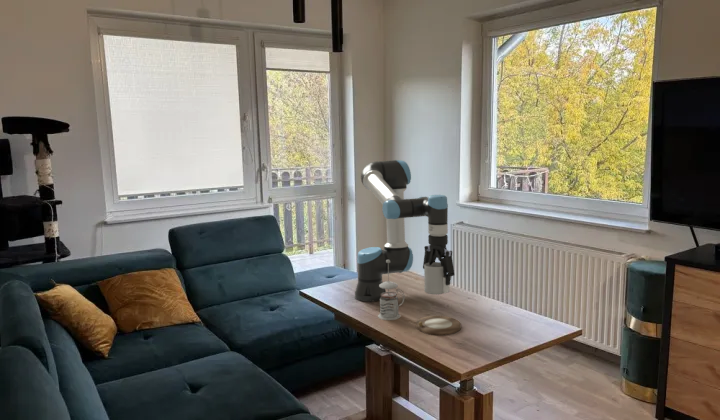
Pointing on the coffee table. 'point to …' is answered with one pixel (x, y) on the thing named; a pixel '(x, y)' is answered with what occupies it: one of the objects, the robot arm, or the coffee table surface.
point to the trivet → (438, 325)
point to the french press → (390, 312)
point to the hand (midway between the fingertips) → (438, 289)
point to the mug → (433, 278)
